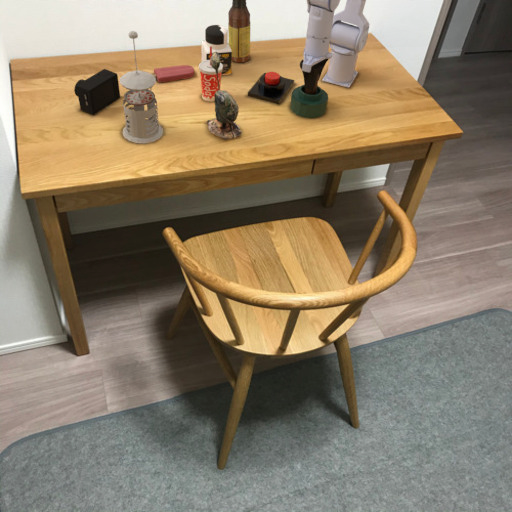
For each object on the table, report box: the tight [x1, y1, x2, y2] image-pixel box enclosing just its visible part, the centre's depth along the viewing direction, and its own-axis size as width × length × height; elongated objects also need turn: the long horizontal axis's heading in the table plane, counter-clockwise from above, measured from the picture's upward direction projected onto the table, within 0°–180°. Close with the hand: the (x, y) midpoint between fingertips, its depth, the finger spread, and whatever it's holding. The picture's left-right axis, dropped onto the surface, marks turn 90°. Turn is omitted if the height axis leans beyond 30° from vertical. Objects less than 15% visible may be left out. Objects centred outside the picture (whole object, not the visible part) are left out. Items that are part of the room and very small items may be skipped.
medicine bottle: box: [200, 24, 233, 76], centre depth 156 cm, size 7×7×12 cm
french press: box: [118, 30, 164, 144], centre depth 129 cm, size 10×12×25 cm
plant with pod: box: [206, 52, 243, 140], centre depth 132 cm, size 8×11×20 cm
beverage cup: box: [198, 46, 223, 103], centre depth 145 cm, size 6×6×14 cm
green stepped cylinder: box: [289, 83, 329, 119], centre depth 147 cm, size 9×9×6 cm
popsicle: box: [153, 64, 195, 83], centre depth 155 cm, size 5×2×15 cm
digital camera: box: [73, 68, 121, 116], centre depth 142 cm, size 10×5×7 cm, turn 149°
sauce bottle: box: [227, 0, 251, 63], centre depth 158 cm, size 7×6×20 cm
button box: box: [247, 72, 296, 105], centre depth 153 cm, size 12×9×3 cm
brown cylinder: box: [305, 75, 320, 95], centre depth 143 cm, size 3×3×7 cm
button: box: [265, 71, 281, 85], centre depth 152 cm, size 4×4×2 cm
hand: (311, 85), depth 144 cm, fingers closed on brown cylinder, 3 cm apart
